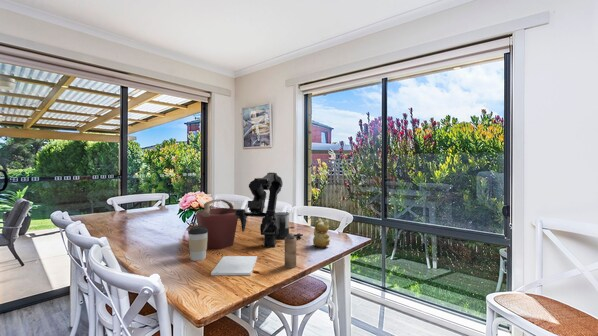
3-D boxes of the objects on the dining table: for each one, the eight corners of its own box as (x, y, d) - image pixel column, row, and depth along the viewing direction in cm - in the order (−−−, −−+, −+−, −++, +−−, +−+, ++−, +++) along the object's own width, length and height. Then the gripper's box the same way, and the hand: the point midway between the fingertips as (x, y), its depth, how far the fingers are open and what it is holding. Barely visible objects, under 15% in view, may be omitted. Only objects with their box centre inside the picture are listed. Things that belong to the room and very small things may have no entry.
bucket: (210, 254, 139) (210, 204, 139) (185, 246, 152) (185, 200, 152) (247, 243, 159) (247, 199, 158) (222, 236, 172) (222, 195, 171)
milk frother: (272, 236, 173) (272, 212, 173) (295, 233, 180) (295, 210, 179) (280, 242, 160) (280, 216, 160) (305, 239, 167) (305, 214, 167)
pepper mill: (284, 264, 127) (284, 232, 126) (296, 264, 127) (296, 232, 126) (284, 268, 121) (284, 235, 121) (296, 268, 122) (296, 235, 121)
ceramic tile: (223, 258, 134) (223, 256, 134) (257, 258, 134) (257, 256, 134) (210, 275, 114) (210, 272, 114) (250, 275, 114) (250, 272, 114)
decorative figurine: (332, 246, 153) (332, 219, 153) (325, 250, 146) (325, 221, 146) (316, 243, 158) (316, 217, 158) (309, 247, 151) (309, 219, 151)
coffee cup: (188, 256, 136) (188, 225, 136) (207, 254, 139) (207, 224, 139) (187, 262, 128) (187, 229, 127) (208, 260, 131) (208, 228, 131)
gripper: (235, 192, 129) (226, 223, 121) (274, 193, 126) (268, 225, 118) (242, 203, 138) (234, 233, 130) (279, 204, 135) (274, 235, 126)
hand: (252, 232), depth 126 cm, fingers open, 9 cm apart
